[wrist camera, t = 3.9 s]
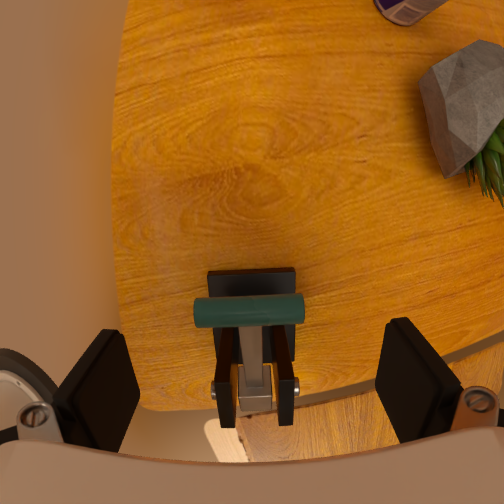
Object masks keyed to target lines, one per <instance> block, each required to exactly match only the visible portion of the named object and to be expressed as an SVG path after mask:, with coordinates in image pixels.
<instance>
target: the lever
mask: <svg viewBox="0 0 504 504" xmlns="http://www.w3.org/2000/svg"><path fill="white" fill-rule="evenodd" d="M193 312H194V322H195V325H196V327H197V328H225V327H238V328H239V335H240V343H241V351H242V358H243V366H239V367H238V399H239V404H240V408H241V411H265V410H272V382H271V367H270V365H263V355H262V326H272V325H289V324H302V323H304V319H305V305H304V298H303V295H302V294H301V293H295V294H277V295H257V296H234V297H206V298H196V299H195V301H194V309H193Z"/></svg>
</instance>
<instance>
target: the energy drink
mask: <svg viewBox="0 0 504 504" xmlns="http://www.w3.org/2000/svg"><path fill="white" fill-rule="evenodd" d="M447 1H448V0H374V2H375V4H376V6H377V8H378V9H379V11H380V12H381V13H382V14H383V15H384V16H385V17H386V18H387V19H389V20H390V21H392V22H394V23H397V24H400V25H404V26H409V25H413V24H415V23H416V22H418V21H419V20H421V19H422V18H423V17H425V16H426V15H428V14H429V13H431V12H432V11H434V10H435V9H436V8H438V7H439V6H441V5H442V4H444V3H445V2H447Z"/></svg>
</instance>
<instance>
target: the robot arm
mask: <svg viewBox="0 0 504 504" xmlns="http://www.w3.org/2000/svg"><path fill="white" fill-rule="evenodd" d="M460 384H461V382H460V381H459V379H458V378H457V377H456V376H455V374H454V373H453V372H452V371H451V369H450V368H449V367H448V366H447V364H446V363H445V362H444V361H443V359H442V358H441V357H440V356H439V354H438V353H437V352H436V351H435V350H434V348H433V347H432V346H431V345H430V343H429V342H428V341H427V340H426V339H425V337H424V336H423V335H422V334H421V333H420V332H419V330H418V329H417V328H416V327H415V326H414V324H413V323H412V322H411V321H410V320H409V319H408V318H407V317H401V318H393V319H391V321H390V323H387V324H386V327H385V332H384V338H383V344H382V350H381V355H380V360H379V365H378V370H377V375H376V380H375V388H376V391H377V393H378V396H379V398H380V400H381V402H382V404H383V406H384V409H385V411H386V413H387V415H388V417H389V419H390V422H391V424H392V426H393V428H394V431H395V433H396V435H397V437H398V440H399V442H400V444H397V445H392V446H388V447H383V448H378V449H373V450H368V451H362V452H356V453H350V454H344V455H337V456H330V457H321V458H312V459H302V460H290V461H275V462H246V463H225V462H196V461H181V460H168V459H159V458H150V457H142V456H135V455H128V454H121V453H118V451H119V449H120V446H121V444H122V440H123V439H124V436H125V434H126V431H127V429H128V426H129V424H130V421H131V419H132V416H133V414H134V411H135V409H136V406H137V404H138V402H139V399H140V389H139V386H138V383H137V380H136V377H135V373H134V370H133V367H132V363H131V360H130V356H129V353H128V349H127V345H126V341H125V338H124V335H123V334H120V333H119V331H118V330H110V329H103V330H101V332H100V333H99V334H98V335H97V337H96V338H95V339H94V341H93V342H92V343H91V345H90V346H89V347H88V348H87V350H86V351H85V352H84V354H83V355H82V356H81V358H80V359H79V361H78V362H77V363H76V364H75V366H74V367H73V369H72V370H71V371H70V372H69V374H68V376H67V377H66V378H65V379H64V381H63V382H62V384H61V385H60V386H59V388H58V389H57V390H56V392H55V393H54V395H53V396H52V399H53V402H52V403H51V405H50V404H49V403H46V402H45V401H44V400H43V398H42V397H41V396H40V394H39V393H38V392H37V391H36V390H35V389H34V388H33V387H32V386H31V385H30V384H29V383H28V382H27V381H25V380H24V379H23V378H21V377H20V376H18V375H17V374H15V373H13V372H10V371H7V370H0V504H504V409H500V408H499V406H500V403H499V399H498V397H497V395H496V394H495V393H494V392H493V391H492V390H490V389H488V388H486V387H483V386H471V387H468V388H466V389H465V390H464V389H463V388H462V386H461V385H460Z"/></svg>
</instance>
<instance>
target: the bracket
mask: <svg viewBox="0 0 504 504" xmlns="http://www.w3.org/2000/svg"><path fill="white" fill-rule="evenodd" d="M207 281H208V291H209V297H234V296H257V295H277V294H295V269H294V268H293V267H291V268H271V269H250V270H228V271H209V272H208V275H207ZM213 335H214V343H215V351H216V359H217V364H216V370H215V377H214V381H212V382H211V397H212V399H213V400H216V401H217V407H218V413H219V419H220V425H221V428H235V422H236V400H237V380H238V364H243V358H242V351H241V343H240V335H239V328H238V327H225V328H213ZM262 355H263V363H272V365H273V375H274V384H275V394H276V404H277V414H278V424H279V426H288V425H293V415H294V396H299V393H300V387H299V379H298V377H294V372H293V367H292V362H293V361H294V359H295V324H289V325H272V326H262Z"/></svg>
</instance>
